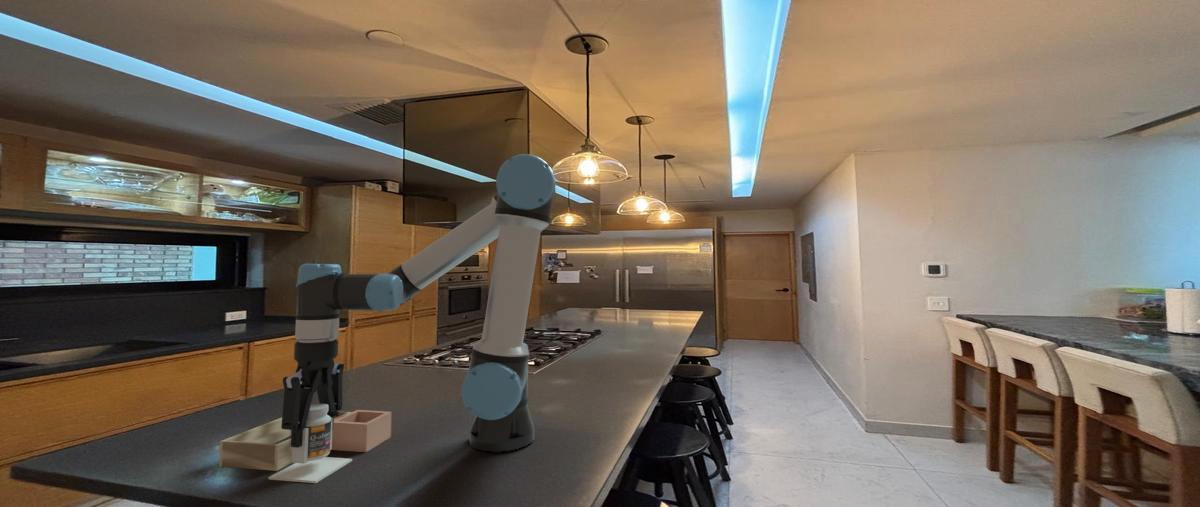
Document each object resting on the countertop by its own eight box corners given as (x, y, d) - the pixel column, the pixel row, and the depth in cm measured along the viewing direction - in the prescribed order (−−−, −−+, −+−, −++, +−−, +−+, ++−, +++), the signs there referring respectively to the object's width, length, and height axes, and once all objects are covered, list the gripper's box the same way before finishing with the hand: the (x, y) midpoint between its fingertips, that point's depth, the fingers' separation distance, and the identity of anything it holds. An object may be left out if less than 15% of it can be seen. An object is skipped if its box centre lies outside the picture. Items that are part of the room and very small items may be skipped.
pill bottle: (313, 464, 86) (315, 412, 86) (289, 461, 87) (290, 410, 87) (336, 452, 91) (338, 403, 92) (313, 450, 93) (314, 401, 93)
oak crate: (302, 429, 111) (303, 409, 111) (350, 432, 109) (351, 412, 110) (219, 466, 90) (220, 441, 90) (277, 470, 88) (278, 445, 89)
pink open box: (390, 437, 107) (391, 411, 107) (366, 452, 98) (367, 424, 98) (356, 434, 108) (357, 409, 108) (329, 449, 99) (330, 422, 99)
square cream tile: (352, 460, 93) (352, 458, 93) (315, 483, 83) (315, 481, 83) (309, 457, 95) (309, 455, 95) (268, 479, 85) (268, 477, 85)
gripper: (333, 332, 100) (329, 437, 99) (259, 346, 81) (253, 475, 80) (364, 333, 99) (360, 439, 98) (296, 348, 80) (290, 478, 79)
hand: (312, 455), depth 89 cm, fingers closed on pill bottle, 6 cm apart
